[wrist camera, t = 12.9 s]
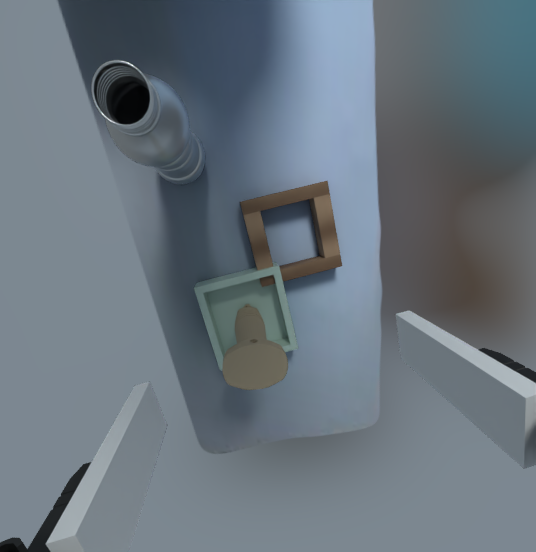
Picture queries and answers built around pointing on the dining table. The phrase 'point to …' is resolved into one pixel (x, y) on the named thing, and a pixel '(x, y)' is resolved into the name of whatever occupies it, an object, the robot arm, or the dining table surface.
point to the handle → (253, 354)
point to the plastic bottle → (148, 121)
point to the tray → (235, 295)
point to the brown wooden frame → (322, 225)
